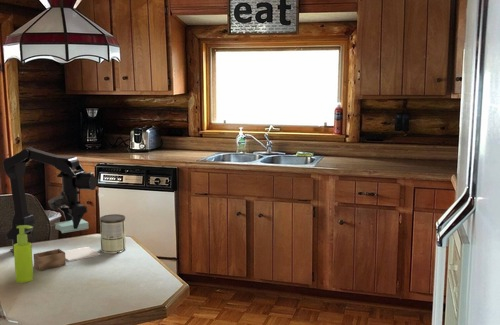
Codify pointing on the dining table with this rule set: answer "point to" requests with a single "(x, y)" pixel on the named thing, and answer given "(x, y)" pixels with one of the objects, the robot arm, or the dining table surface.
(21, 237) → the soap dispenser
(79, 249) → the mat
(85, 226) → the lid
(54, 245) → the dining table surface
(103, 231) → the coffee can
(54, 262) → the wooden box
